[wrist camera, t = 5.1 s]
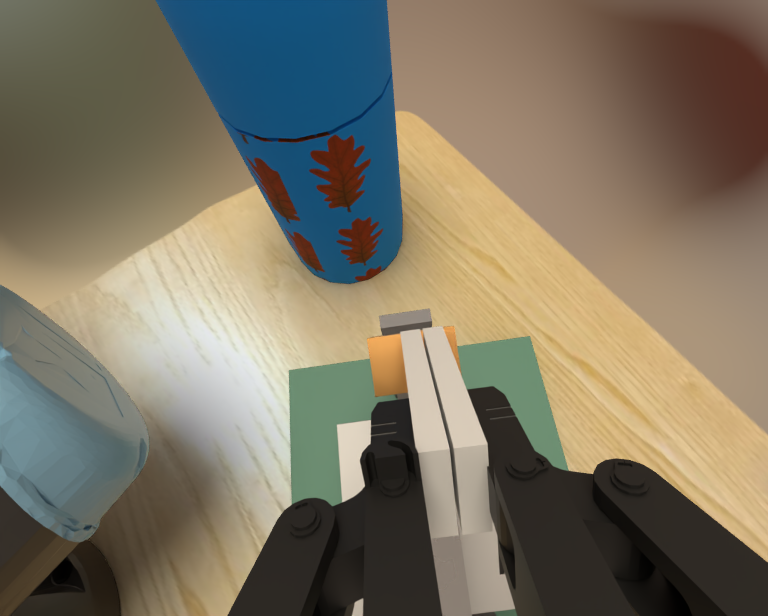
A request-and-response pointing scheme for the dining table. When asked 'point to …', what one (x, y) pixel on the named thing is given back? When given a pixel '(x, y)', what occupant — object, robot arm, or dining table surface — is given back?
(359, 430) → the lever on green base
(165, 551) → the dining table surface
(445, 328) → the grey and orange bar
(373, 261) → the thermos
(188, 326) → the dining table surface
